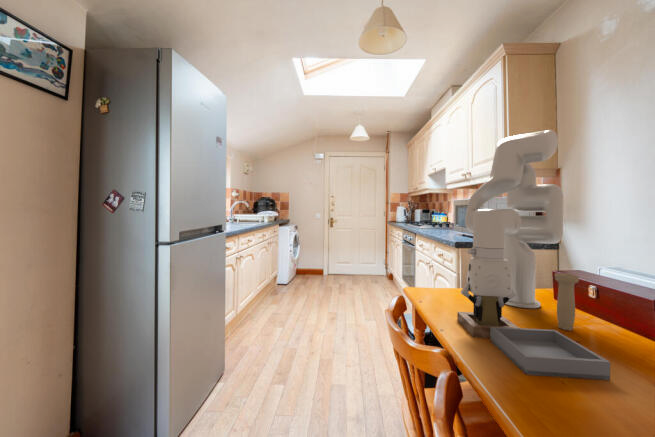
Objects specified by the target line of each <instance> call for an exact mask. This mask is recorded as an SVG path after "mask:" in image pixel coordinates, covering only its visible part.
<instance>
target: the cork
mask: <svg viewBox="0 0 655 437" xmlns="http://www.w3.org/2000/svg"><path fill="white" fill-rule="evenodd" d="M497 301H498V297H486V296H481V307H482V321H479V320H478V319H476V323H477V324H478V325H492V326H499V322H498V316H497V306H496V302H497Z"/></svg>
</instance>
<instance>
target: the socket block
mask: <svg viewBox="0 0 655 437" xmlns="http://www.w3.org/2000/svg"><path fill="white" fill-rule="evenodd" d="M473 312H474V311H472V312H471V311H470V312H469V311H457V314H456V315H457V316H456V317H457V322H459V323H460V325H461V326H463V328H464V329H465V330H466V331H467V332H468V333H469V334H470V336H472V337H473V338H482V339H484V338H485V339H490V327H505V328H520V327H519V326H518V325H516V324H515V323H514V322H512V321H510V320H509V319H508V318H507V317H505V316H503V315H502V317H501V318H500V322H499V326H492V325H478V324H477V323H476V318H475V316H474V313H473Z"/></svg>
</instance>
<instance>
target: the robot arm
mask: <svg viewBox="0 0 655 437" xmlns="http://www.w3.org/2000/svg"><path fill="white" fill-rule="evenodd" d="M558 137H559V136H558V134H557V133H556V132H555V131H554V130H552V129H546V130H541V131H540V130H539V131H534V132H529V133H523V134H516V135H513V136H512V135H511V136H508V137H505V138H502V139H501V140H499V141H498V142H497V145H496V147H495V151H494V154H493V160H492V161H493V162H492V165H491V171H490V175H489V179H487V181H485V182H484V183H483V184H481V185H480V186H479V187H478V188H477V189H476V190H475V191H474V192H473V193H472V195H471V196H470V198H469V200H468V202H467V203H468V204H467V208H466V212H465V220H464V223H465V224H464V225H465V227H466V229H467V231H468V232H470V233H472V247H471V248H469V249H467V254H468V255H471V257H470V258H469V262H468V267H467V273H466V283H465V285H464V287H463V288H462V289H461V291H460V294H461V295H463V296H464V297H466V298H467V299H468V300H469V301H471V303H472V304H473V311H472V312H473V313H474V316H475V318H476V319H478V320H479V321H482V307H481V296H486V297H498V301H497V302H496V306H497V316H498V322H500V318H501V317H502V316H503V307H505V305H506V306H511V307H515V308H522V309H523V308H524V309H538V308H540V307H541V305H542V304H541V303H542V302H540V301H538V300H537V299H536V263H537V262H536V258H537V256H536V254H535V252H534V250H533V249H532V248H531V247H530V245H528V244H542V245H543V244H545V245H546V244H547V245H552V244H554V245H555V244H558V243H560V242H561V240H562V238H563V233H564V232H563V230H564V194H563V190H562V188H561V187H560V186H559V185H557V184H554V183H545V184H543V183H542V184H537V171H536V169H535V168H534V167H533V166H532V165H531V164H532V163H540V162H541V163H542V162H545V161H548V160H549V159H550V158H551V157H552V156H554V154H555V153H556V152H557V150H558V147H559V138H558ZM504 194H506V206H507V208H482V207H483V206H484V205H485V204H486V203H488V201H490V200H492V199H494V198H496V197H498V196H502V195H504ZM519 213H544V215H520V214H519ZM470 293H472V294H473V295H472V294H470Z"/></svg>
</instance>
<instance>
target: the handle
mask: <svg viewBox="0 0 655 437" xmlns="http://www.w3.org/2000/svg"><path fill="white" fill-rule="evenodd" d="M554 279H555V281H556V282H558V289H557V290H558V291H557V299H556V300H557V301H556V302H557V303H556V318H557V326H558V329H560V330H561V329H562V330H563V331H569V332H571V331H573V330H574V325H575V320H576V319H575V317H576V301H575V300H576V299H575V284H577V283H579V281H580V278H579V276H578V275H575V274H572V273H563V272H555V273H554Z"/></svg>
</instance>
